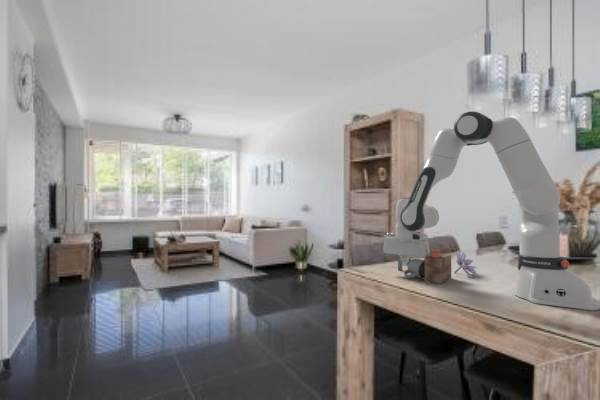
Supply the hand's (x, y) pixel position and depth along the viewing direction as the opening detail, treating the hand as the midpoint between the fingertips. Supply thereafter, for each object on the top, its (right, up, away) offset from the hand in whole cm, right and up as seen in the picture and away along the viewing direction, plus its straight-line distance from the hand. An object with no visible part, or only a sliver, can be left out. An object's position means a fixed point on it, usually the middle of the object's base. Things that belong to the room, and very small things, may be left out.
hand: (405, 265), depth 144 cm
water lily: (+27, -5, 0) cm, 27 cm away
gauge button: (+9, +3, -12) cm, 15 cm away
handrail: (+7, -4, +5) cm, 10 cm away
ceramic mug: (+3, -4, -4) cm, 7 cm away
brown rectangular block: (+11, -4, -9) cm, 15 cm away
